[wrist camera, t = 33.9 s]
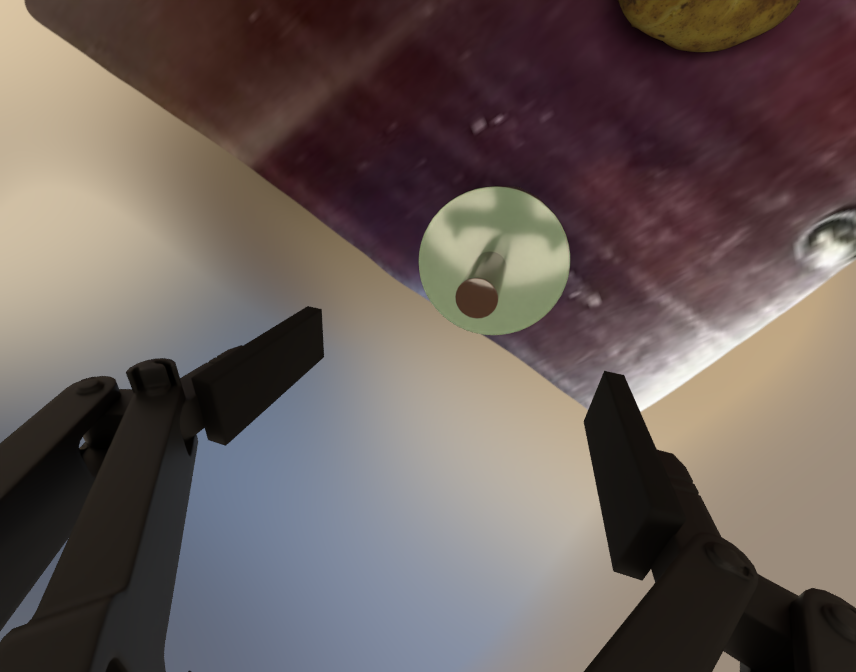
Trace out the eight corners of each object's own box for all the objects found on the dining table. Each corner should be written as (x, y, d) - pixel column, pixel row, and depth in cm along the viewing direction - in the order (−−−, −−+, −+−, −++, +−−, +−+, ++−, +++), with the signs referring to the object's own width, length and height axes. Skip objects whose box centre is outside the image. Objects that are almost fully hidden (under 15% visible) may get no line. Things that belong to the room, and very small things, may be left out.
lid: (459, 157, 29) (428, 153, 20) (603, 231, 28) (632, 257, 20) (402, 291, 36) (362, 329, 27) (517, 352, 35) (512, 410, 27)
